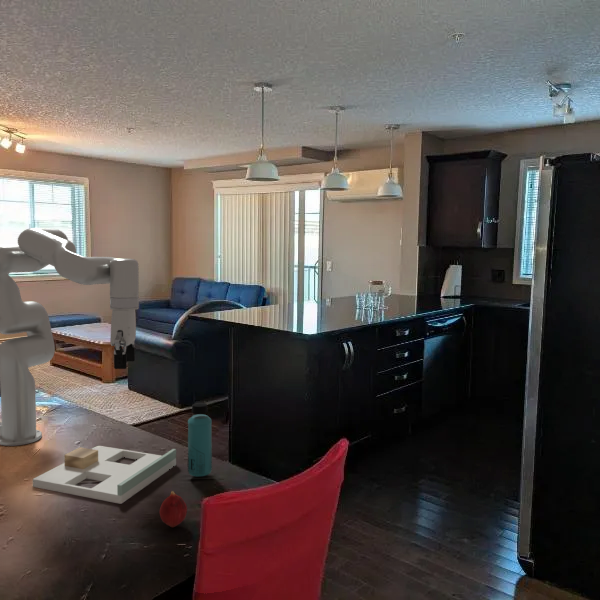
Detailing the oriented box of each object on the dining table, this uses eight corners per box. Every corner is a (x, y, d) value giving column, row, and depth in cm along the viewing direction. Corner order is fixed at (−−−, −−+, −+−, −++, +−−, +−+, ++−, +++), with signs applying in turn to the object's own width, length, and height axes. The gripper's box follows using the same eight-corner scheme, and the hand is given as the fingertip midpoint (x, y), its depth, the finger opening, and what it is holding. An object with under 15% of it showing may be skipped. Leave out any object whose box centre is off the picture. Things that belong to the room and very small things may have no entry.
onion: (191, 523, 122) (192, 488, 121) (177, 535, 116) (178, 499, 116) (169, 518, 124) (169, 484, 123) (154, 530, 118) (154, 495, 117)
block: (64, 465, 146) (64, 454, 146) (80, 457, 152) (79, 447, 151) (83, 469, 144) (83, 458, 144) (98, 460, 150) (98, 450, 150)
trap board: (32, 486, 138) (32, 469, 137) (98, 452, 161) (97, 437, 161) (121, 503, 130) (121, 485, 129) (176, 464, 154) (176, 449, 153)
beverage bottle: (216, 475, 147) (217, 402, 145) (202, 484, 141) (203, 408, 139) (196, 470, 150) (197, 398, 148) (181, 479, 144) (182, 405, 142)
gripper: (118, 300, 159) (118, 358, 161) (101, 306, 142) (102, 371, 144) (144, 300, 160) (144, 358, 161) (131, 307, 143) (131, 372, 144)
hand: (124, 364), depth 152 cm, fingers open, 9 cm apart
